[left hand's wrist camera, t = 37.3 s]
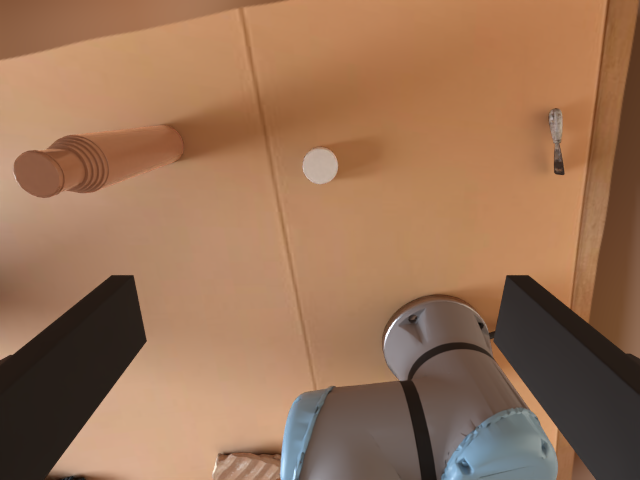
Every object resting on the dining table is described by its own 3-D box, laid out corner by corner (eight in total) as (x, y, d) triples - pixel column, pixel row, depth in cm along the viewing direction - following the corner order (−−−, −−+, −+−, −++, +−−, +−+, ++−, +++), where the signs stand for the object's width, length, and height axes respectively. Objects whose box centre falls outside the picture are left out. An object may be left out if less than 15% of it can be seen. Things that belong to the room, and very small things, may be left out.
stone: (222, 438, 61) (218, 452, 58) (290, 454, 62) (289, 468, 60) (207, 488, 65) (202, 503, 63) (270, 502, 66) (268, 517, 64)
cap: (334, 183, 46) (335, 187, 44) (300, 178, 45) (300, 181, 44) (340, 149, 44) (341, 151, 42) (305, 143, 44) (305, 145, 42)
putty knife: (555, 107, 42) (564, 107, 41) (560, 172, 45) (569, 174, 43) (546, 109, 42) (555, 110, 41) (552, 174, 45) (560, 176, 44)
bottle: (139, 146, 44) (-10, 179, 24) (158, 116, 43) (18, 125, 23) (171, 170, 45) (52, 220, 25) (191, 142, 44) (82, 171, 24)
